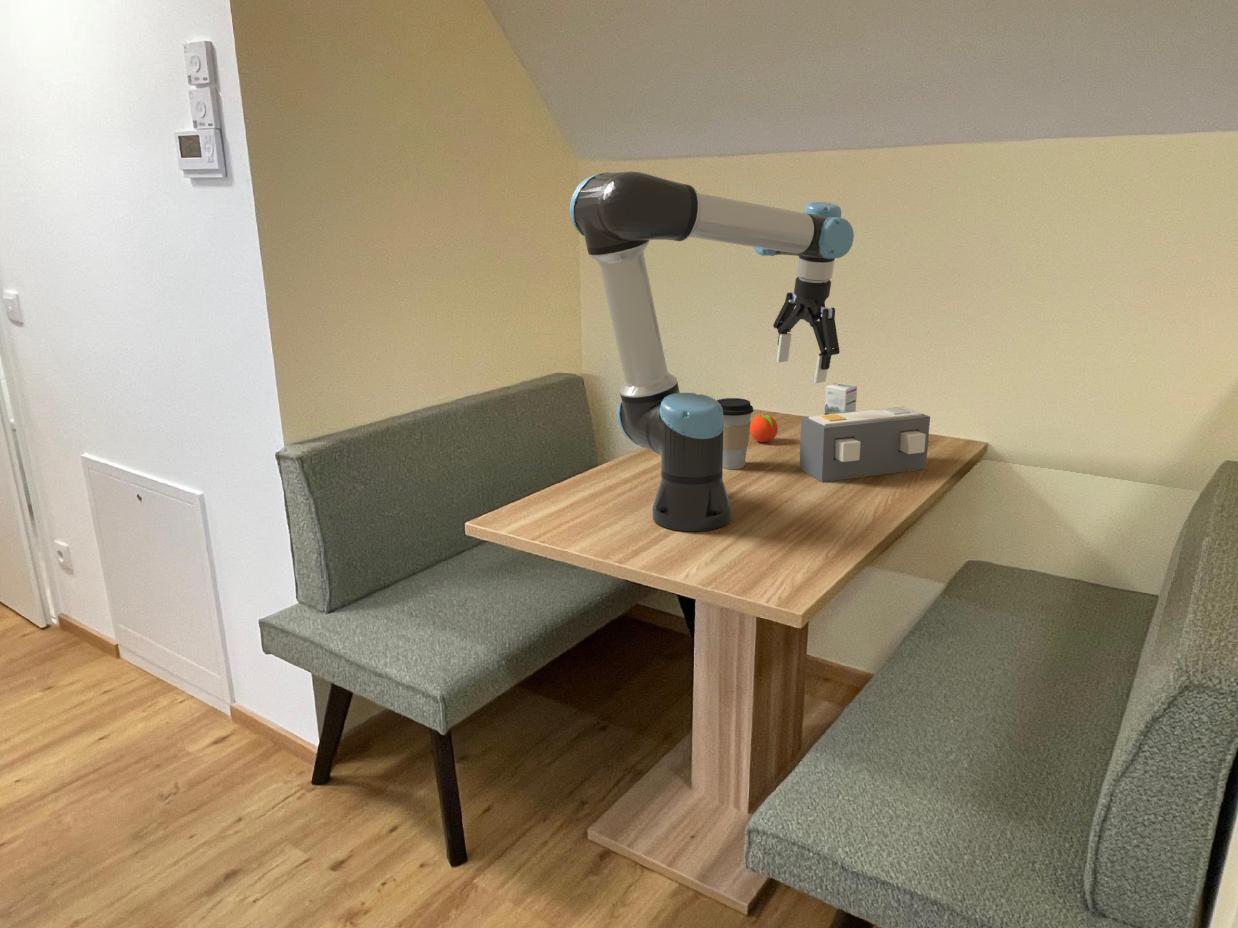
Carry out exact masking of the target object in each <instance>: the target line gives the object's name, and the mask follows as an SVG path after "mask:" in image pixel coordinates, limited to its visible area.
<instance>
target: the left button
mask: <svg viewBox="0 0 1238 928" xmlns="http://www.w3.org/2000/svg"><path fill="white" fill-rule="evenodd" d="M834 458H836V459H838V460H840V461H842V462H847V461H856V460H859V458H860V441H857V440H855V439H853V438H851V437H844V438H835V442H834Z"/></svg>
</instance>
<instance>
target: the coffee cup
mask: <svg viewBox="0 0 1238 928" xmlns="http://www.w3.org/2000/svg"><path fill="white" fill-rule="evenodd" d="M715 400H716V401H718V402H719V403H720V405H721V407H722V409H723V419H724V428H723V469H724V470H741V469H742V468H744V467H745V466H746V456H747V452H748V451H747V450H748V446H749V438H750V424H751V422H752V421H751V416H752V413H753V412H754V406H753V405H751V401H750V400H748V399H744V398H741V397H740V398H738V397H737V398H736V397H726V398H719V399H715Z"/></svg>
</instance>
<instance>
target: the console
mask: <svg viewBox="0 0 1238 928" xmlns="http://www.w3.org/2000/svg"><path fill="white" fill-rule="evenodd" d="M930 422H931V416H930V415H927V414H924V413H922V412H919V411H915V410H913V409H910V408H907V407H905V406H898V407H897V406H896V407H890V408H889V407H887V408H878V409H868V410H860V411H857V410H856V412H847V413H838V414H828V415H824V414H821V415H820V414H819V415H810V416H809V415H808V416H802V417H801V418H800V440H799V441H800V442H799V443H800V444H799V445H800V446H799V468H798V469H799V470H800V471H802V472H804V473H805V474H807V475H809V476H811V477H813V478H814V479H816V480H817V481H819V482H821V483H824V482H832V481H839V480H848V479H855V478H864V477H871V476H872V477H873V476H880V475H887V474H889V475H890V474H895V473H896V474H897V473H902V472H903V473H904V472H905V473H906V472H911V471H918V470H926V469H927V458H928V447H929V436H930ZM907 430H916V431H918V432H921V433H923V434H926V438H925V450H924V452H922V453H914V454H907V453H905V452H902V451H900V450H899V439H900V431H907ZM844 437H851V438H853V439H855V440H857V441H860V458H859V460H856V461H847V462H842V461H840V460H838V459H836V458H834V442H835V438H844Z"/></svg>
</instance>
